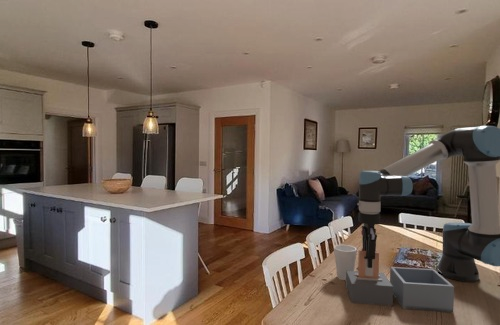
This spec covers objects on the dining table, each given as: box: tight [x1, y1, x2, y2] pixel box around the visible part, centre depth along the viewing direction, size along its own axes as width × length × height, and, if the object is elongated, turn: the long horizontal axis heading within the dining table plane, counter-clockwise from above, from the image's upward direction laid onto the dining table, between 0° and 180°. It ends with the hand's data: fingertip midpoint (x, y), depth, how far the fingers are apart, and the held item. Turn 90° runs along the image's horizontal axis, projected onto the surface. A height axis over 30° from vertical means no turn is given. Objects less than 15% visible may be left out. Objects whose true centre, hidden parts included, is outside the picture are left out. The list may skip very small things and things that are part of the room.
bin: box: [389, 266, 455, 313], centre depth 110 cm, size 16×15×9 cm
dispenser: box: [345, 270, 394, 306], centre depth 113 cm, size 14×12×8 cm
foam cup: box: [333, 244, 358, 282], centre depth 130 cm, size 10×9×13 cm
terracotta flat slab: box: [357, 250, 380, 279], centre depth 113 cm, size 7×2×15 cm, turn 81°
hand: (368, 274), depth 113 cm, fingers closed on terracotta flat slab, 2 cm apart
